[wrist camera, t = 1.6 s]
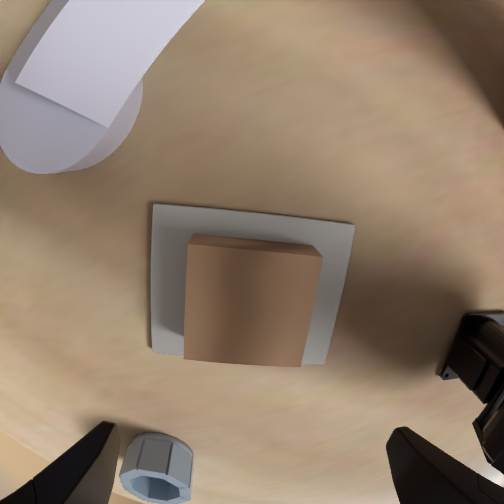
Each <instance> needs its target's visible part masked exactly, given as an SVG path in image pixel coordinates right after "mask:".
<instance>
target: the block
mask: <svg viewBox="0 0 504 504" xmlns="http://www.w3.org/2000/svg"><path fill="white" fill-rule="evenodd" d="M322 261H323V256H322V255H321V254H320V253H319V252H318V251H317V249H316V248H315V247H314V246H313V245H306V244H296V243H286V242H277V241H267V240H257V239H246V238H236V237H226V236H215V235H205V234H193V236H192V237H191V239H190V241H189V243H188V250H187V268H186V289H185V317H184V359H188V360H197V361H207V362H218V363H231V364H245V365H262V366H285V367H300V366H301V362H302V358H303V354H304V349H305V345H306V340H307V336H308V331H309V327H310V322H311V317H312V313H313V308H314V303H315V298H316V293H317V288H318V283H319V277H320V272H321V266H322Z"/></svg>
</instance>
